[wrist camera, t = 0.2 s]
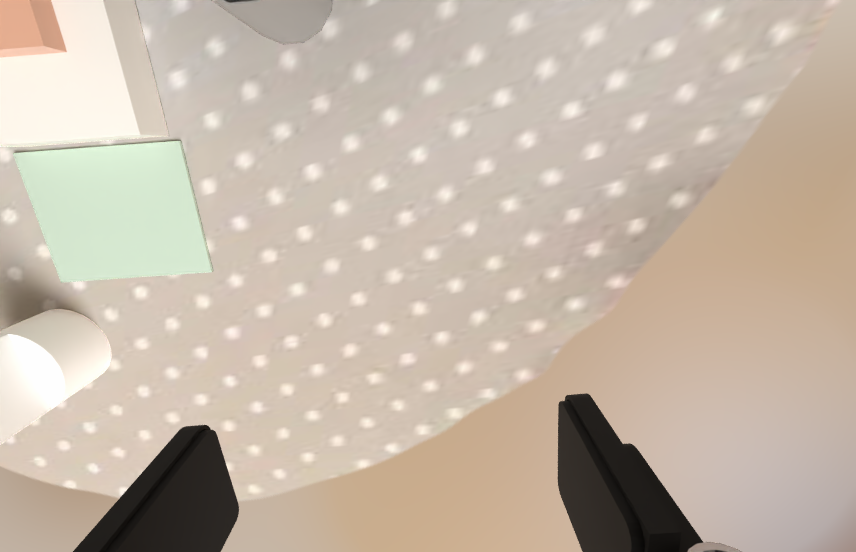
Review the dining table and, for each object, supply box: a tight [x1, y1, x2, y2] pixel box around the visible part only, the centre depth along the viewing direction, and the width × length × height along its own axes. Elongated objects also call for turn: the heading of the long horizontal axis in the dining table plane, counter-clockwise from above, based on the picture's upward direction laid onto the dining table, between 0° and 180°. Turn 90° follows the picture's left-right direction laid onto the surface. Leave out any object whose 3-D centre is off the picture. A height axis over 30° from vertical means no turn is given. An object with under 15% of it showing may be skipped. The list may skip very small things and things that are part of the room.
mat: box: [13, 141, 213, 282], centre depth 39 cm, size 13×16×1 cm
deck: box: [0, 0, 169, 147], centre depth 33 cm, size 16×14×4 cm
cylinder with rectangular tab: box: [0, 309, 112, 445], centre depth 38 cm, size 9×9×12 cm
